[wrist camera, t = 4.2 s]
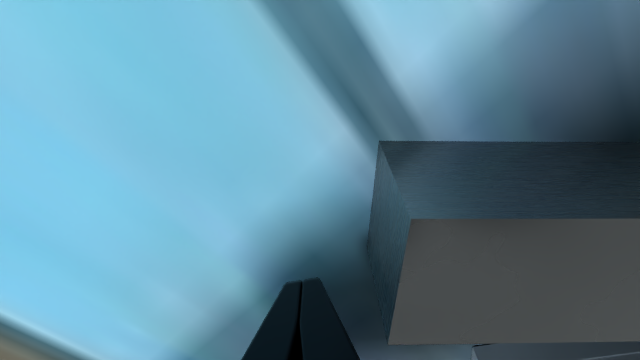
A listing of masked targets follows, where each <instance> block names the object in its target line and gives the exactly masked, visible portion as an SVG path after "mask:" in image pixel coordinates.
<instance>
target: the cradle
mask: <svg viewBox="0 0 640 360" xmlns="http://www.w3.org/2000/svg"><path fill="white" fill-rule="evenodd" d="M472 360H640V341H636V342H564V343H498V344H490V345H483V346H476V347H472Z"/></svg>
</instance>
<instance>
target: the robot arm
mask: <svg viewBox="0 0 640 360" xmlns="http://www.w3.org/2000/svg"><path fill="white" fill-rule="evenodd" d="M241 360H360V358H359V356H358V354H357V352H356V350H355V348H354V346H353V344H352V342H351V340H350V338H349V336H348V334H347V332H346V330H345V328H344V326H343V324H342V322H341V320H340V318H339V316H338V314H337V312H336V310H335V308H334V306H333V304H332V302H331V300H330V298H329V296H328V294H327V292H326V290H325V288H324V286H323V284H322V282H321V280H320V279H319V278H311V279H305V280H303V282H302V281H301V280H298V281H292V282H287V283H285V284H284V286H283V288H282V290H281V291H280V293H279V295H278V296H277V298H276V300H275V302H274V303H273V305H272V307H271V309H270V310H269V312H268V314H267V316H266V317H265V319H264V321H263V323H262V324H261V326H260V328H259V330H258V331H257V333H256V335H255V337H254V338H253V340H252V342H251V344H250V345H249V347H248V349H247V351H246V352H245V354H244V356H243V358H242V359H241Z"/></svg>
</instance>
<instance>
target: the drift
mask: <svg viewBox="0 0 640 360" xmlns="http://www.w3.org/2000/svg"><path fill="white" fill-rule="evenodd" d="M367 250H368V254H369V259H370V264H371V268H372V273H373V278H374V283H375V287H376V292H377V297H378V301H379V306H380V311H381V315H382V320H383V325H384V330H385V334H386V339H387V344H388V345H421V344H493V343H564V342H636V341H640V143H629V142H467V141H379V145H378V154H377V162H376V171H375V180H374V189H373V198H372V207H371V215H370V224H369V233H368V242H367Z"/></svg>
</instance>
